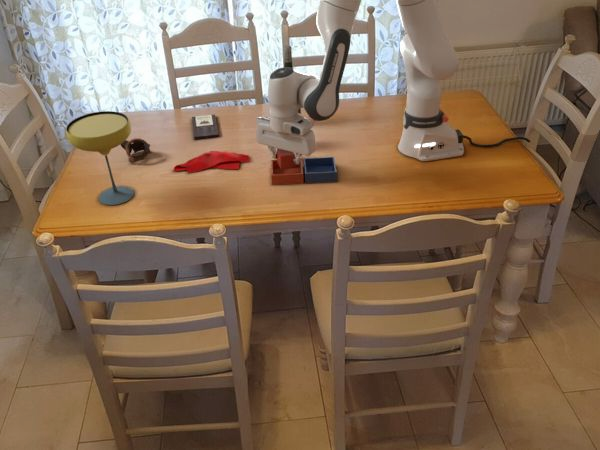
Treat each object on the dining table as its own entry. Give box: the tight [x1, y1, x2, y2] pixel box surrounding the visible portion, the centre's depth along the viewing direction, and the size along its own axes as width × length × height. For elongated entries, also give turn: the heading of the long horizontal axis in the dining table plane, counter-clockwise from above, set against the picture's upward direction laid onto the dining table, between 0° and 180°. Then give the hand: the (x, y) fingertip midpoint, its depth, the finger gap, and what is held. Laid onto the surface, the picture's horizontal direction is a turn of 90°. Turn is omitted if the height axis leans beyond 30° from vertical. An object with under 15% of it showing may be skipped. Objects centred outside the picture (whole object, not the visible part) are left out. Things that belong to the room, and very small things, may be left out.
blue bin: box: [302, 156, 338, 184], centre depth 184 cm, size 10×10×4 cm
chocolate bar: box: [191, 114, 219, 140], centre depth 215 cm, size 9×1×18 cm
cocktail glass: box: [65, 110, 135, 206], centre depth 171 cm, size 18×18×25 cm
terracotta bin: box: [270, 157, 305, 186], centre depth 184 cm, size 10×10×4 cm
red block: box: [276, 149, 296, 170], centre depth 181 cm, size 5×5×5 cm
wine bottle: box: [283, 44, 302, 116], centre depth 208 cm, size 8×8×30 cm
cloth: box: [172, 150, 251, 174], centre depth 193 cm, size 26×14×2 cm, turn 94°
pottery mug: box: [119, 138, 152, 165], centre depth 196 cm, size 12×10×8 cm
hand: (286, 160), depth 181 cm, fingers closed on red block, 7 cm apart
